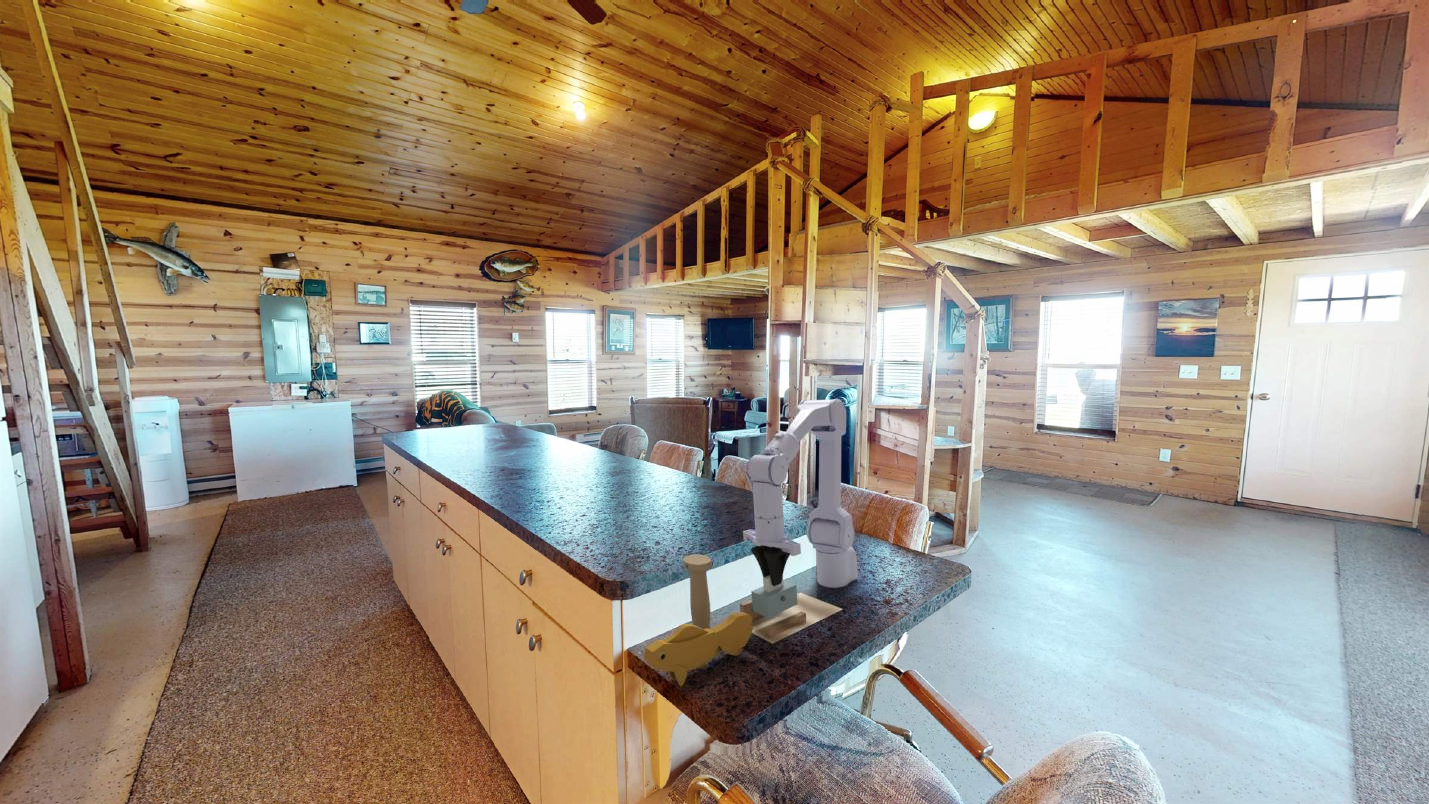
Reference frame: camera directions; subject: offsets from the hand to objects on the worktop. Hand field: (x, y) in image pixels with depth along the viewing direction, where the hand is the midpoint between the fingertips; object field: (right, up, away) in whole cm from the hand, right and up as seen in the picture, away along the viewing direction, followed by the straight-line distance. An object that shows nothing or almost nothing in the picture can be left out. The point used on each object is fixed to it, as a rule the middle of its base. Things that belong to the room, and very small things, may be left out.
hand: (773, 582), depth 103 cm
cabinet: (0, -5, 0) cm, 5 cm away
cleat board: (+3, -9, +3) cm, 10 cm away
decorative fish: (-13, -11, -12) cm, 21 cm away
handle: (-14, -10, 0) cm, 18 cm away
